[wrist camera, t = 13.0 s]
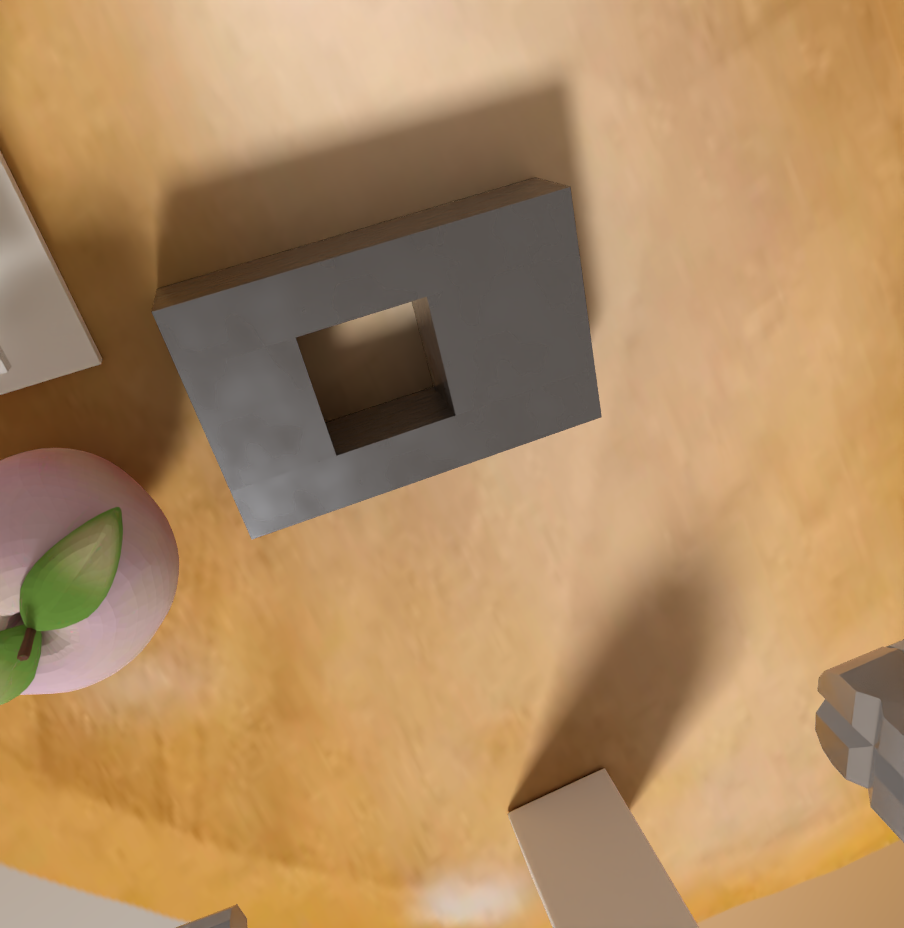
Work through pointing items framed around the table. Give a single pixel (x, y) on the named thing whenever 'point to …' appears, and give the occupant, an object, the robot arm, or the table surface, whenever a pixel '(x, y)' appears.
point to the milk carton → (595, 860)
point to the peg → (4, 362)
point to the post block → (443, 336)
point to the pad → (35, 301)
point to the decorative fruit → (77, 570)
